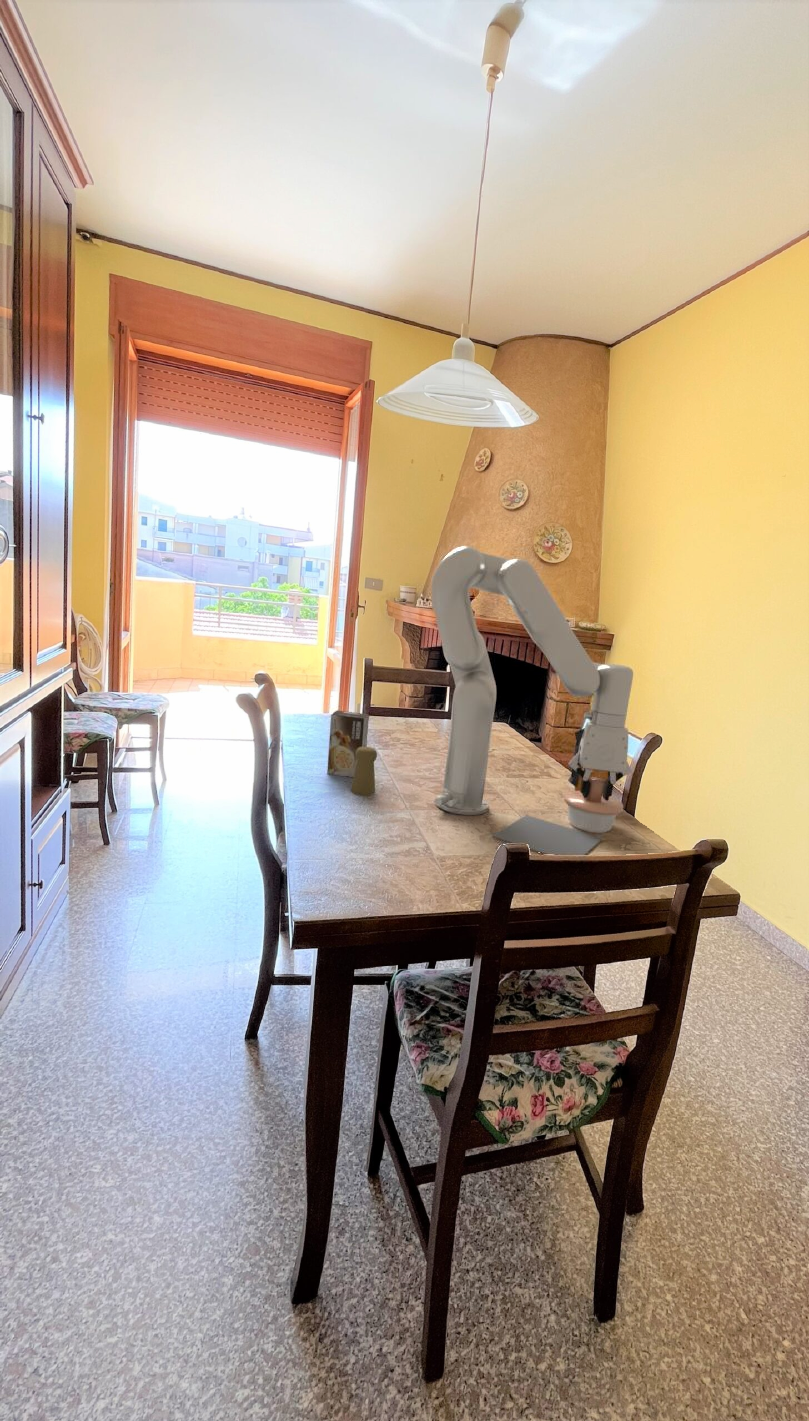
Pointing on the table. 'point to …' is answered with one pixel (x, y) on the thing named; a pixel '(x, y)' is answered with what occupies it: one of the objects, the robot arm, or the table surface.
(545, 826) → the mat
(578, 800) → the lid
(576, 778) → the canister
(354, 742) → the coffee box
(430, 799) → the table surface
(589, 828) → the ramekin
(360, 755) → the cork
